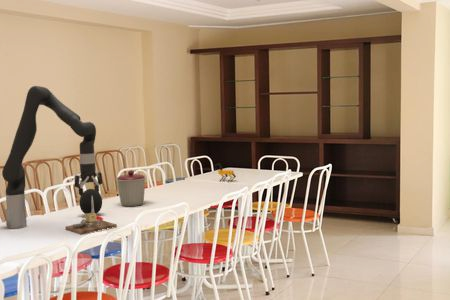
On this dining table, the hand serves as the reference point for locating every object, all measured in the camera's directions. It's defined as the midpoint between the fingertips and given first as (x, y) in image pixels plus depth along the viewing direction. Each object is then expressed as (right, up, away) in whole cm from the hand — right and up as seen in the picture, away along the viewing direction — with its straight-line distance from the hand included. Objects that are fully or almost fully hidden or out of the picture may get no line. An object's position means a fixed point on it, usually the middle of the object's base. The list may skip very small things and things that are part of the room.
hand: (89, 194), depth 299 cm
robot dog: (+68, -1, +140) cm, 156 cm away
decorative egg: (-6, -15, +33) cm, 37 cm away
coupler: (+1, -16, +2) cm, 16 cm away
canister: (+12, -11, +60) cm, 63 cm away
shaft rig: (+1, -17, +2) cm, 18 cm away
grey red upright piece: (-2, -16, +21) cm, 26 cm away
